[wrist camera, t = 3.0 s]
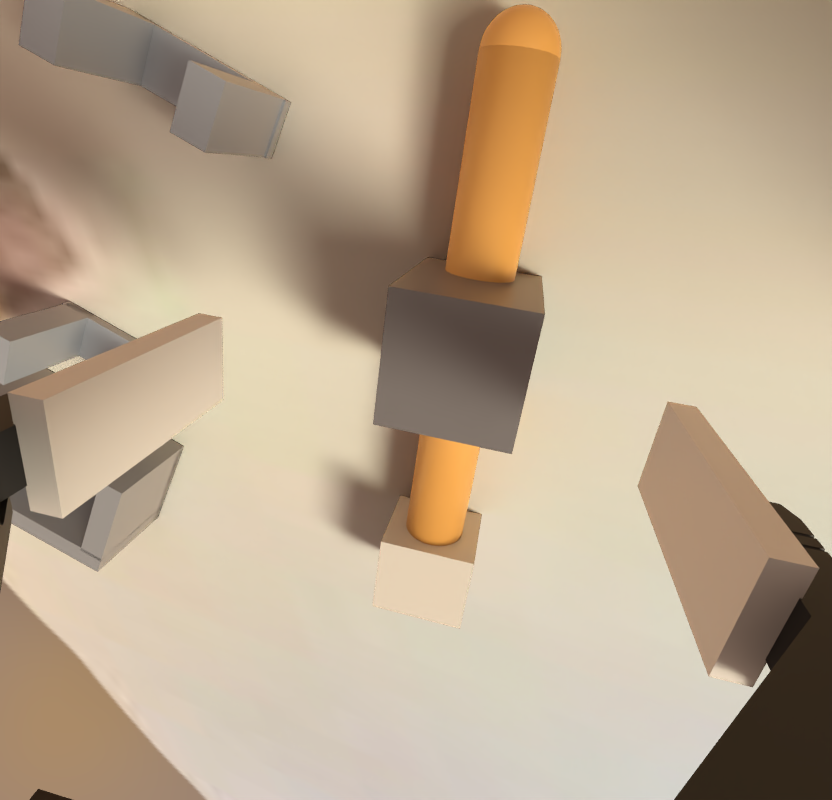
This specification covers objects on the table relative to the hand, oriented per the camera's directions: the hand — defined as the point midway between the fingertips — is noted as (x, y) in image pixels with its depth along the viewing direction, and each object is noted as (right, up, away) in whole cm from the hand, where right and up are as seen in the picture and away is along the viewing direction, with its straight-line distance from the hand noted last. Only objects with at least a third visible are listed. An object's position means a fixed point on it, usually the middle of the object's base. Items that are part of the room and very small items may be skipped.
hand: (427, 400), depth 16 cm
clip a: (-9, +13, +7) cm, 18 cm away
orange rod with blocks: (+2, +2, +9) cm, 9 cm away
